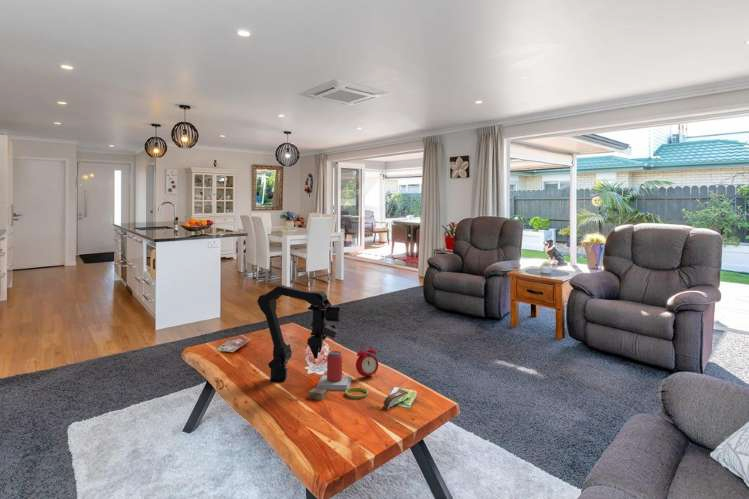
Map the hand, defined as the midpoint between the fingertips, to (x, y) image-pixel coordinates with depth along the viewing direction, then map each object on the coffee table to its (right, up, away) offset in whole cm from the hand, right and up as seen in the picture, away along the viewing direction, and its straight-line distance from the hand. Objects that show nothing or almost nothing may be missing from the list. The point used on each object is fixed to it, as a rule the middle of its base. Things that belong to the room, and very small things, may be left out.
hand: (317, 355), depth 182 cm
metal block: (+2, -14, -15) cm, 20 cm away
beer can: (+7, -11, 0) cm, 13 cm away
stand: (+7, -13, 0) cm, 15 cm away
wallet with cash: (+34, -20, -14) cm, 42 cm away
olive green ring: (+18, -21, -11) cm, 29 cm away
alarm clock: (+22, -13, +10) cm, 27 cm away
